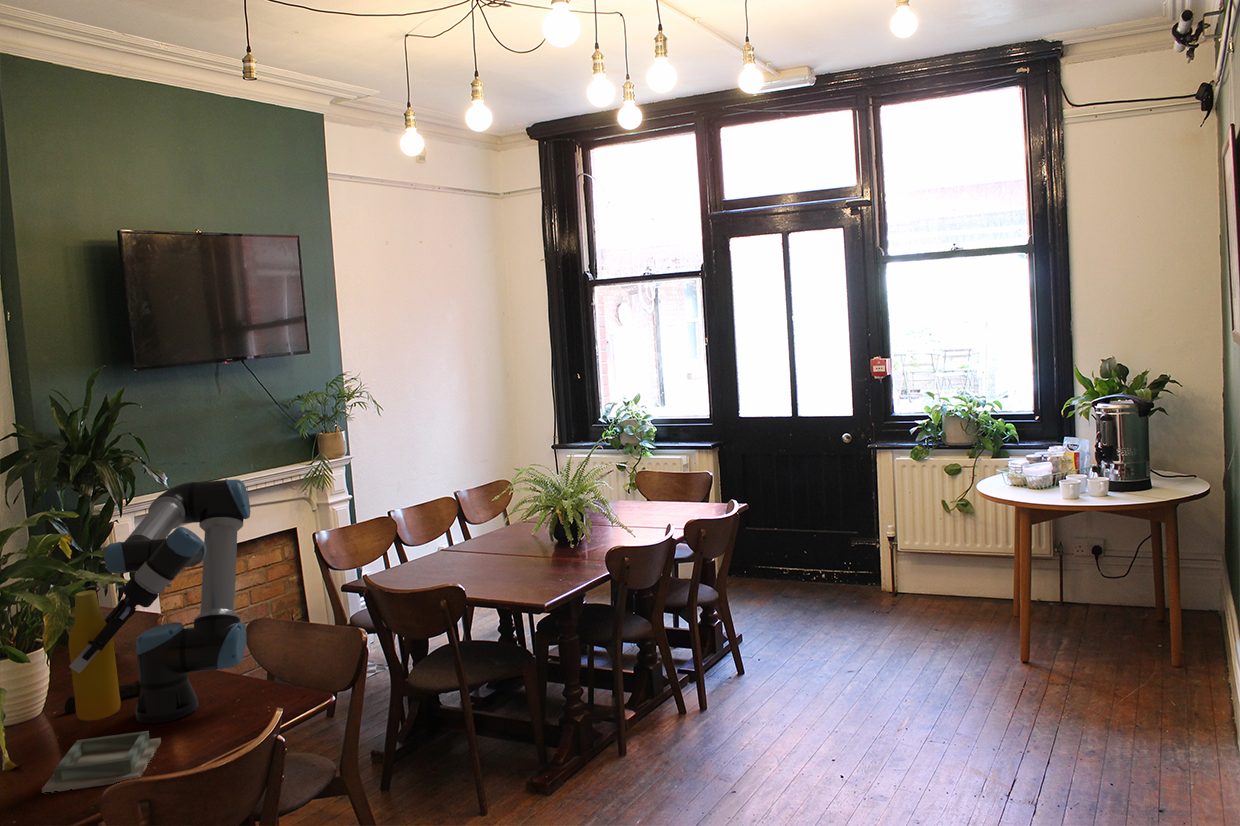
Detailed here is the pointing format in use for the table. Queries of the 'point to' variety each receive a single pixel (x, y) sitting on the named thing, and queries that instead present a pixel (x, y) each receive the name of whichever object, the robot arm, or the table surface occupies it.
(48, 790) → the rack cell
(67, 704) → the hand tool
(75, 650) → the beer bottle
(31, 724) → the table surface
